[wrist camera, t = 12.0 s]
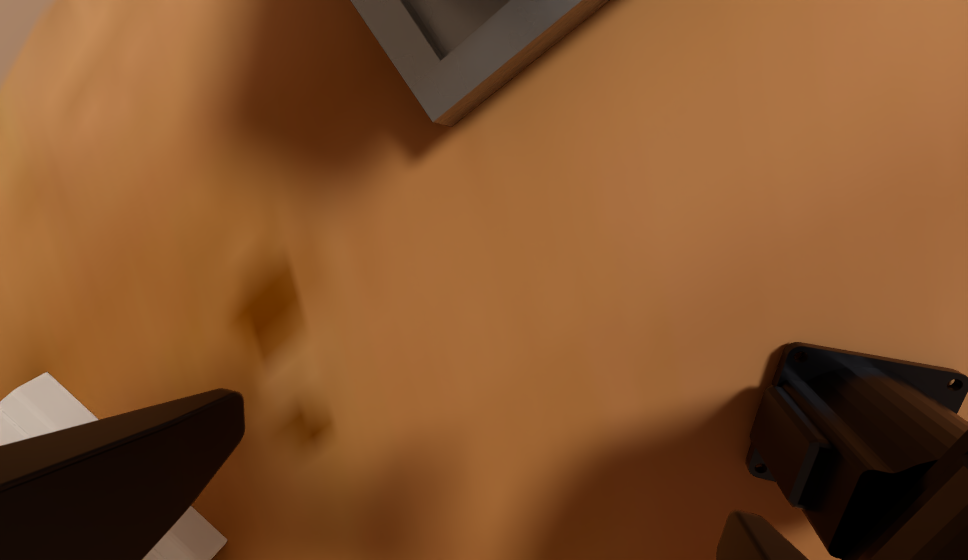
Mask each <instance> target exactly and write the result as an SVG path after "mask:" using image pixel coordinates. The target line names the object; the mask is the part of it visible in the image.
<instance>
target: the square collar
mask: <svg viewBox="0 0 968 560" xmlns="http://www.w3.org/2000/svg"><path fill="white" fill-rule="evenodd" d="M608 1H609V0H351V2H352V3H353V5H354V6H355V8H356V9H357V11H358V12H359V14H360V15H361V17H362V18H363V20H364V21H365V23H366V24H367V26H368V27H369V29H370V30H371V32H372V33H373V35H374V36H375V37H376V39H377V40H378V42H379V43H380V45H381V46H382V48H383V49H384V51H385V52H386V54H387V55H388V57H389V58H390V60H391V61H392V63H393V64H394V66H395V67H396V69H397V70H398V72H399V73H400V75H401V76H402V77H403V79H404V80H405V82H406V83H407V85H408V86H409V88H410V89H411V91H412V92H413V94H414V95H415V97H416V98H417V100H418V101H419V103H420V104H421V106H422V107H423V109H424V110H425V112H426V113H427V115H428V116H429V117H430V119H431V120H432V122H434V123H438V124H443V125H447V126H453V125H454V124H455V123H457V122H458V121H459V120H460V119H462V118H463V117H464V116H465V115H467V114H468V113H469V112H470V111H472V110H473V109H474V108H475V107H477V106H478V105H479V104H480V103H482V102H483V101H484V100H485V99H487V98H488V97H489V96H490V95H492V94H493V93H494V92H495V91H497V90H498V89H499V88H500V87H502V86H503V85H504V84H505V83H507V82H508V81H509V80H510V79H512V78H513V77H514V76H515V75H517V74H518V73H519V72H520V71H522V70H523V69H524V68H525V67H527V66H528V65H529V64H530V63H532V62H533V61H534V60H535V59H537V58H538V57H539V56H540V55H542V54H543V53H544V52H545V51H547V50H548V49H549V48H550V47H552V46H553V45H554V44H555V43H557V42H558V41H559V40H560V39H562V38H563V37H564V36H565V35H567V34H568V33H569V32H570V31H572V30H573V29H574V28H575V27H577V26H578V25H579V24H580V23H582V22H583V21H584V20H585V19H587V18H588V17H589V16H590V15H592V14H593V13H594V12H595V11H597V10H598V9H599V8H600V7H602V6H603V5H604V4H605V3H607V2H608Z"/></svg>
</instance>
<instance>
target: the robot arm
mask: <svg viewBox="0 0 968 560" xmlns="http://www.w3.org/2000/svg"><path fill="white" fill-rule="evenodd" d="M798 352H803V355H802V357H800V358H798V359H794V355H795V354H796V353H798ZM953 379H955V381H954V383H953V384H952V385H949V386H947V384H948V382H949V381H951V380H953ZM967 392H968V377H967V376H966V375H964V374H962V373H960V372H959V371H957V370H954V369H950V368H944V367H938V366H932V365H927V364H921V363H915V362H910V361H904V360H898V359H892V358H887V357H881V356H875V355H870V354H864V353H858V352H853V351H847V350H841V349H835V348H830V347H824V346H818V345H813V344H807V343H801V342H794V343H791V344H789V345H788V346H786V347H785V349H784V351H783V353H782V356H781V359H780V362H779V365H778V368H777V371H776V374H775V377H774V379H773V382H772V385H771V386H769V387H768V388H767V389H765V392H764V395H763V398H762V401H761V404H760V406H759V409H758V412H757V415H756V418H755V421H754V424H753V427H752V430H751V433H750V439H751V440H752V443H751V446H750V449H749V452H748V455H747V458H746V466H747V468H748V470H749V472H750V473H751V474H752V475H753V476H755V477H758V478H762V479H766V480H771V481H775V482H777V484H778V486H779V487H780V489H781V491H782V492H783V494H784V496H785V497H786V499H787V500H788V502H789V503H790V504H791V505H792V506H793V507H795V508H799V509H802V511H803V512H804V514H805V515H806V517H807V519H808V520H809V522H810V524H811V525H812V527H813V528H814V530H815V532H816V533H817V535H818V536H819V538H820V540H821V541H822V543H823V544H824V546H825V548H826V549H827V551H828V552H829V554H830V555H831V556H833V557H835V558H839V559H842V560H968V422H967V421H966V420H964V419H963V418H961V417H960V416H958V415H957V413H958V411H959V409H960V407H961V405H962V403H963V401H964V399H965V396H966V394H967ZM244 432H245V415H244V399H243V396H242V394H241V393H239V392H236V391H232V390H228V389H223V388H220V389H215V390H211V391H208V392H204V393H200V394H196V395H192V396H188V397H185V398H181V399H177V400H173V401H169V402H166V403H162V404H158V405H154V406H150V407H146V408H143V409H139V410H135V411H131V412H127V413H124V414H120V415H116V416H112V417H108V418H104V419H101V420H97V421H93V422H89V423H85V424H81V425H78V426H74V427H70V428H66V429H62V430H59V431H55V432H51V433H47V434H43V435H39V436H36V437H32V438H28V439H24V440H20V441H16V442H13V443H9V444H5V445H1V446H0V560H142V559H143V558H144V557H145V556H146V555H147V554H148V553H149V552H150V551H151V550H152V548H153V547H154V546H155V545H156V544H157V543H158V542H159V541H160V540H161V539H162V538H163V536H164V535H165V534H166V533H167V532H168V531H169V530H170V529H171V528H172V527H173V526H174V524H175V523H176V522H177V521H178V520H179V519H180V518H181V516H182V515H183V514H184V513H185V512H186V511H187V510H188V508H189V507H190V506H191V505H192V503H193V502H194V501H195V500H196V498H197V497H198V496H199V495H200V493H201V492H202V491H203V489H204V488H205V487H206V485H207V484H208V483H209V482H210V480H211V479H212V478H213V476H214V475H215V474H216V472H217V471H218V470H219V469H220V467H221V466H222V465H223V463H224V462H225V461H226V460H227V458H228V457H229V456H230V454H231V453H232V452H233V450H234V449H235V448H236V447H237V445H238V444H239V443H240V441H241V439H242V437H243V435H244ZM759 463H763V465H762V466H761V467H755V466H756V465H757V464H759ZM716 560H808V559H807V558H806V557H805V556H804V555H803V554H802V553H801V552H800V551H799V550H798V549H796V548H795V547H794V546H793V545H792V544H791V543H790V542H789V541H788V540H787V539H786V538H784V537H783V536H782V535H781V534H780V533H779V532H778V531H777V530H776V529H775V528H774V527H773V526H771V525H770V524H769V523H768V522H767V521H766V520H765V519H764V518H762V517H761V516H759V515H756V514H752V513H748V512H744V511H739V510H734V511H731V513H730V514H729V516H728V518H727V521H726V524H725V527H724V530H723V533H722V535H721V538H720V541H719V544H718V547H717V553H716Z"/></svg>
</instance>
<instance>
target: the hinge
mask: <svg viewBox="0 0 968 560" xmlns="http://www.w3.org/2000/svg"><path fill="white" fill-rule="evenodd" d="M97 420H98V419H97V418H96V417H95V416H94V415H93V414H92V413H91V412H90V411H89V410H88V409H87V408H85V407H84V406H83V405H82V404H81V403H80V402H79V401H78V400H77V399H76V398H75V397H74V396H73V395H71V394H70V393H69V392H68V391H67V390H66V389H65V388H64V387H63V386H62V385H61V384H60V383H59V382H58V381H56V380H55V379H54V378H53V377H52V376H51V375H50V374H49V373H48V372H46V373H44V374H42V375H40V376H38V377H36V378H34V379H33V380H31V381H29V382H27V383H25V384H23V385H21V386H19V387H18V388H16V389H15V390H13V391H12V392H11V393H10V394H9V395H7V396H6V397H5V398H4V399H3V400H2V401H1V402H0V446H1V445H5V444H9V443H13V442H16V441H20V440H24V439H28V438H32V437H36V436H39V435H43V434H47V433H51V432H55V431H59V430H62V429H66V428H70V427H74V426H78V425H81V424H85V423H89V422H93V421H97ZM226 542H227V539H226V538H225V537H224V536H223V535H222V534H221V533H220V532H219V531H218V530H217V529H215V528H214V527H213V526H212V525H211V524H210V523H209V522H208V521H207V520H206V519H205V518H204V517H203V516H202V515H200V514H199V513H198V512H197V511H196V510H195V509H194V508H193V507H192V506H190V507H189V508H188V510H187V511H186V512H185V513H184V514H183V515H182V516H181V518H180V519H179V520H178V521H177V522H176V523H175V524H174V526H173V527H172V528H171V529H170V530H169V531H168V532H167V533H166V534H165V535H164V536H163V538H162V539H161V540H160V541H159V542H158V543H157V544H156V545H155V546H154V547H153V548H152V550H151V551H150V552H149V553H148V554H147V555H146V556H145V557H144V558H143V559H142V560H211V559H212V558H213V557H214V556H215V555H216V554H217V552H218V551H219V550H220V549H221V548H222V547H223V546H224V545H225V544H226Z"/></svg>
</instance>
